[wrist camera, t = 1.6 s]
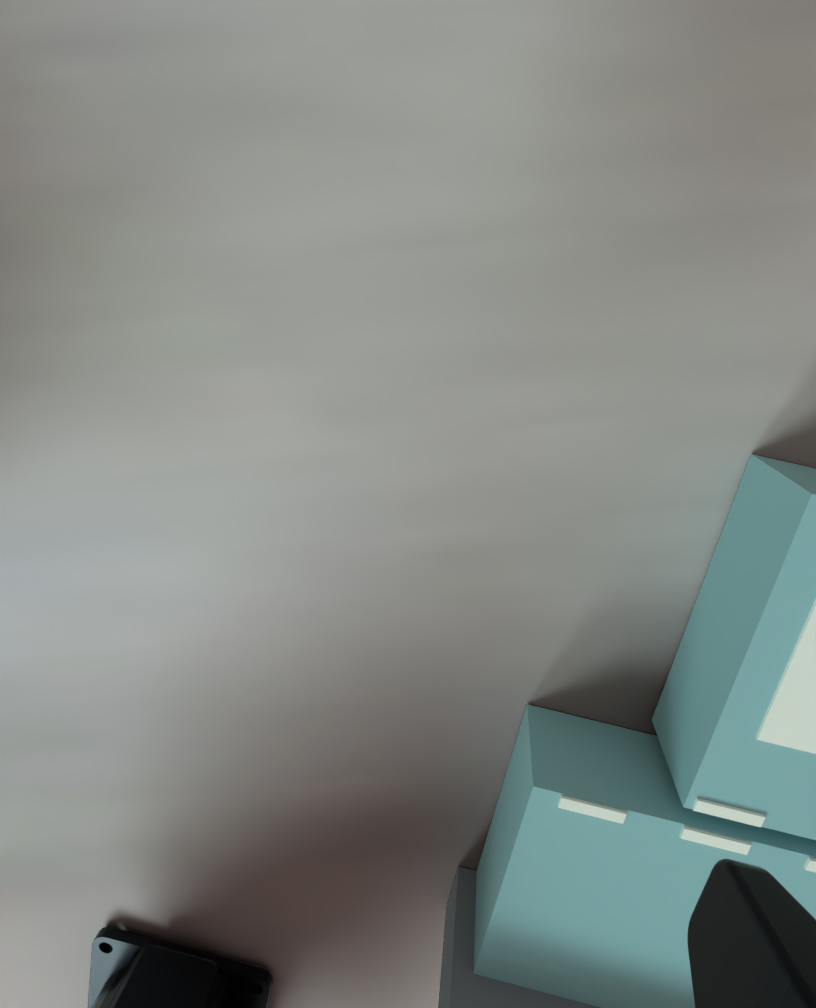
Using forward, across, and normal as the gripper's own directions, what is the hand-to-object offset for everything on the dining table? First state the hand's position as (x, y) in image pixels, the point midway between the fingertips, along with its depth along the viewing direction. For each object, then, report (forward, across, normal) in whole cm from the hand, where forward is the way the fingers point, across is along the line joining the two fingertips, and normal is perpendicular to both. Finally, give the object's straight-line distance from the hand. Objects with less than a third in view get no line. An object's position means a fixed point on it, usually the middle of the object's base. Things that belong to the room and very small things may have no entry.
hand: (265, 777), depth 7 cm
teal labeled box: (+12, -11, +2) cm, 16 cm away
